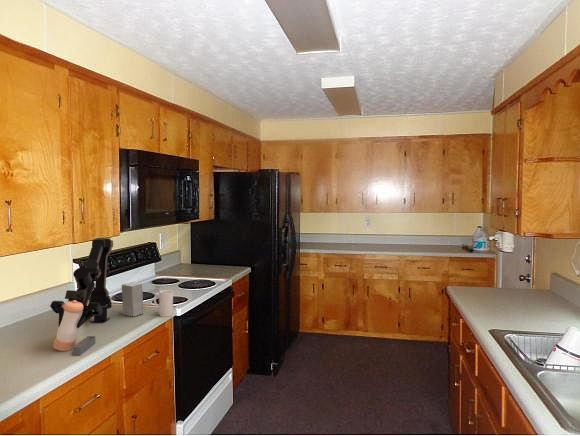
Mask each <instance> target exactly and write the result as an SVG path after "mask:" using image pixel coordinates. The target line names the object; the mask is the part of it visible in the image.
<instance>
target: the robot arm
mask: <svg viewBox="0 0 580 436" xmlns="http://www.w3.org/2000/svg"><path fill="white" fill-rule="evenodd" d="M113 247H114V241H113V240H112V239H111V238H109V237H97V238H93V239H92V240H91V248H90V252H89V255H88V257H87V260H86V261H85V262H84V263H82V265H80V267H78V268H76V269H75V270H74V271H73V278H74V280H75V283H76V285H77V288H76V290H68V289H67V290H66V292H65V296H64V299H65V300H67V302H68V301H73V300H77V301H78V302H81V303H82V304H83V310H82V311H81V315H80V316H79V319H78V324H77V329H79V328H80V327H82V326H83V325H84V324H85V323H86V322H87V321H90V323H101V324H103V323H105V322H106V323H107V321H108V320H110V319H111V318H110V317H108V310H109V309H111V308H112V304H113V303H112V300H111V297H110V293H109V291H108V289H107V286H106V285H107V271H108V270H107V269H108V256H109V255H110V254H111V253H112V251H113ZM65 303H66V302H64V300H52V301H51V302H50V305H49V308H50V309H52V311H53V312H54V314H58V327H59V326H60V324H61V321H62V319H63V315H64V311H65V310H64V309H63V305H64V304H65ZM91 318H93V319H92V320H90V319H91Z"/></svg>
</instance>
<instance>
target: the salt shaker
mask: <svg viewBox="0 0 580 436" xmlns="http://www.w3.org/2000/svg"><path fill="white" fill-rule="evenodd" d="M64 303H65V304H64V305H63V309H64V310H65V311H64V315H63V319H62V321H61V324H60V326H58V329H57V333H56V336H55V338H54V341H53V344H52V347H53V348H54V349H55V350H57V351H71V350H73V347H74V346H75V345H76V340H77V336H76V335H77V332H78V328H77V324H78V322H79V319H80V316H81V315H80V314H81V313H82V311H83V304H82V303H81V302H78V301H77V300H73V301H68V300H67V301H66V302H64Z"/></svg>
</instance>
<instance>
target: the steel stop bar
mask: <svg viewBox="0 0 580 436" xmlns="http://www.w3.org/2000/svg"><path fill="white" fill-rule="evenodd" d="M95 344H96V336H94V335H93V336H92V335H91V336H90V335H89V336H86V337H85V338H84V339H82V340H80V342H78V343H75V345H74V347H73V349H72V356H81V355H83V354H84V353H86V352H87V351H88V350H89V349H91V348H92V347H93V346H94V345H95Z"/></svg>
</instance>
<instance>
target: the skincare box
mask: <svg viewBox="0 0 580 436" xmlns="http://www.w3.org/2000/svg"><path fill="white" fill-rule="evenodd" d="M143 293H144V292H143V284H142V283H140V282H139V283H138V282H133V281H132V282H127V283H122V284H121V299H122V315H124V316H128V317H132V316H133V317H134V316H135V317H137V315H138V316H141V315H143V314H144V300H143V299H144V298H143V297H144V295H143ZM142 313H143V314H142ZM140 314H141V315H140ZM135 317H134V318H135Z"/></svg>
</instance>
